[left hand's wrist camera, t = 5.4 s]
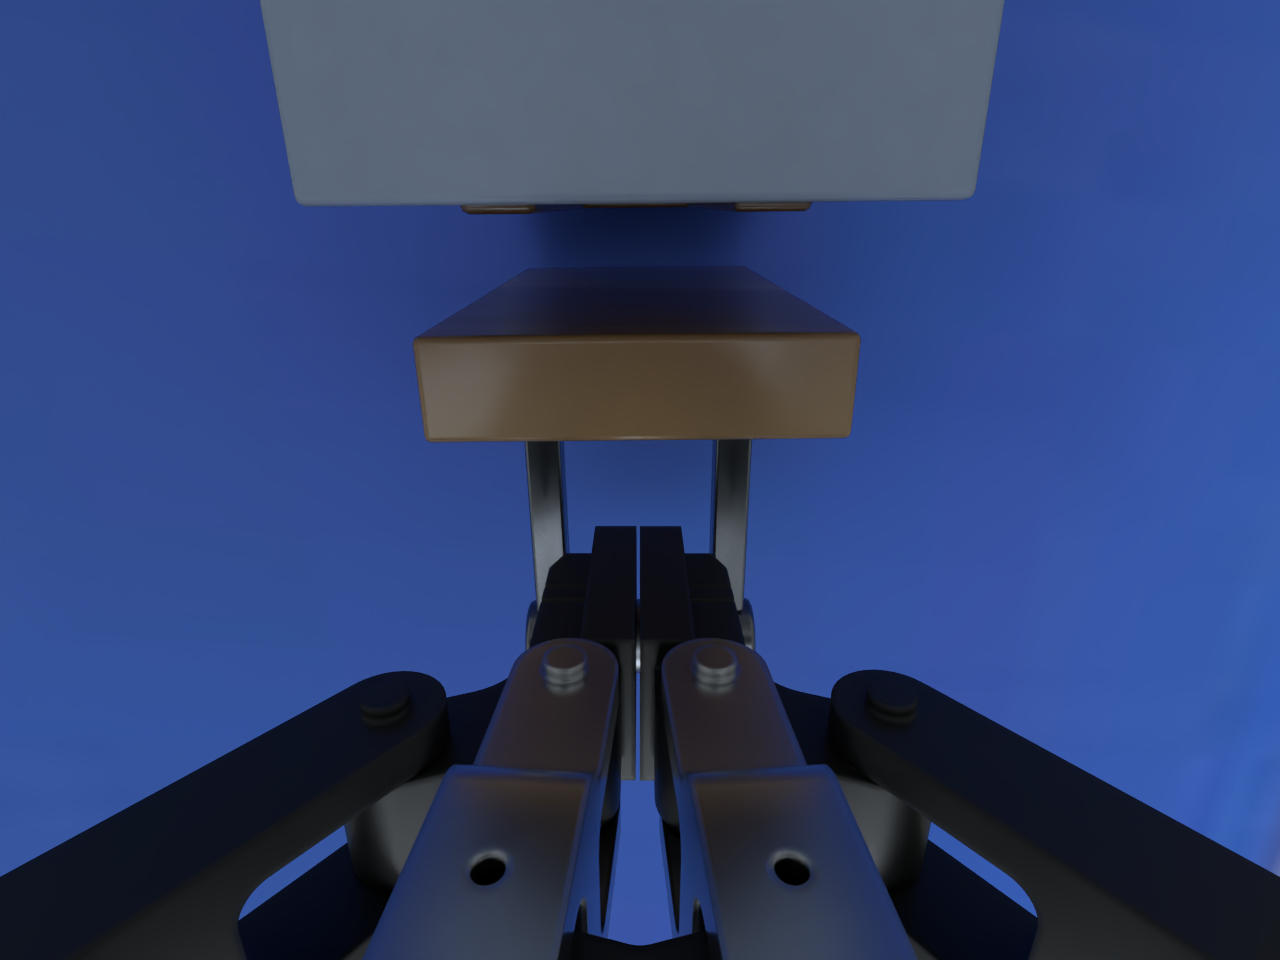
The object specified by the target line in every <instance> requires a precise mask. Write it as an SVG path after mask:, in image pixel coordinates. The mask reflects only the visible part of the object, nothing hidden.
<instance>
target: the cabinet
mask: <svg viewBox="0 0 1280 960" xmlns="http://www.w3.org/2000/svg"><path fill="white" fill-rule="evenodd" d="M260 4H261V9H262V15H263V21H264V26H265V32H266V38H267V43H268V49H269V55H270V60H271V66H272V72H273V77H274V83H275V89H276V94H277V100H278V105H279V111H280V117H281V122H282V128H283V134H284V139H285V145H286V151H287V156H288V162H289V168H290V173H291V179H292V185H293V190H294V196H295V198H296V200H297V202H298V203H299V204H301V205H304V206H306V207H331V206H431V205H532V204H633V203H733V202H834V201H935V200H965V199H967V198H970V197H971V196H972V195H973V193H974V191H975V188H976V181H977V175H978V168H979V162H980V155H981V149H982V143H983V136H984V130H985V123H986V117H987V110H988V104H989V97H990V91H991V84H992V78H993V71H994V65H995V58H996V52H997V45H998V39H999V32H1000V26H1001V19H1002V13H1003V6H1004V0H260Z"/></svg>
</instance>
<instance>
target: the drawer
mask: <svg viewBox="0 0 1280 960" xmlns="http://www.w3.org/2000/svg"><path fill="white" fill-rule="evenodd" d="M811 203H812V202H733V203H633V204H532V205H460V206H461V209H462V211H463V212H465V213H468V214H531V213H541V212H550V211H559V210H569V209H578V208H654V207H694V208H705V209H716V210H727V211H738V212H757V211H805V210H808V209H809V208H810V206H811ZM860 343H861V338H860V335H859V334H858V333H857V332H855V331H853V330H852V329H850V328H848V327H847V326H845V325H843V324H842V323H840V322H838V321H836V320H835V319H833V318H831V317H830V316H828V315H826V314H825V313H823V312H821V311H820V310H818V309H816V308H814V307H813V306H811V305H809V304H808V303H806V302H804V301H803V300H801V299H799V298H798V297H796V296H794V295H792V294H791V293H789V292H787V291H786V290H784V289H782V288H781V287H779V286H777V285H776V284H774V283H772V282H770V281H769V280H767V279H765V278H764V277H762V276H760V275H759V274H757V273H755V272H754V271H752V270H750V269H749V268H747V267H745V266H723V267H623V268H529V269H527V270H525V271H524V272H522V273H520V274H519V275H517V276H515V277H514V278H512V279H510V280H509V281H507V282H506V283H504V284H502V285H501V286H499V287H497V288H496V289H494V290H493V291H491V292H489V293H488V294H486V295H484V296H483V297H481V298H479V299H478V300H476V301H475V302H473V303H471V304H470V305H468V306H466V307H465V308H463V309H461V310H460V311H458V312H457V313H455V314H453V315H452V316H450V317H448V318H447V319H445V320H444V321H442V322H440V323H439V324H437V325H435V326H434V327H432V328H430V329H429V330H427V331H426V332H424V333H422V334H421V335H419V336H417V337H416V338H414V341H413V350H414V358H415V366H416V374H417V381H418V389H419V397H420V405H421V412H422V420H423V428H424V435H425V438H426V440H427V441H430V442H519V441H525V454H526V468H527V482H528V495H529V509H530V522H531V536H532V550H533V563H534V577H535V590H536V600H535V601H532V602H531V604H530V606H529V609H528V614H527V621H526V638H525V646H526V650H528V649H529V646H530V642H531V638H532V634H533V630H534V626H535V623H536V619H537V615H538V611H539V607H540V603H541V602H542V595H543V591H544V588H545V583H546V579H547V575H548V571H549V568H550V567H551V566H552V565H553V564H554V563H555V562H556V561H557V560H558V559H559V558H561V557H562V556H563V555H564V554H565V553H569V534H568V515H567V495H566V476H565V457H564V441H617V440H713V450H712V483H711V516H710V549H709V553H711V554H712V555H714V556H715V557H716V558H717V559H718V560H719V561H720V562H721V563H722V564H723V565H724V566H725V567H726V568H727V570H728V574H729V579H730V583H731V588H732V591H733V595H734V602H735V603H736V607H737V612H738V616H739V620H740V624H741V628H742V632H743V636H744V640H745V645H746V646H747V647H749V648H751V649H752V650H754V651H755V626H754V617H753V611H752V607H751V604H750V602H749V600H748V599H746V598H744V583H745V563H746V544H747V525H748V506H749V487H750V468H751V448H752V439H812V438H845V437H849V435H850V432H851V427H852V418H853V409H854V399H855V390H856V380H857V371H858V362H859V352H860ZM636 673H640V599H637V644H636Z"/></svg>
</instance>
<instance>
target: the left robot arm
mask: <svg viewBox="0 0 1280 960" xmlns="http://www.w3.org/2000/svg"><path fill="white" fill-rule="evenodd" d="M636 644H637V557H636V526H596V527H595V533H594V540H593V547H592V553H565V554H564V555H563V556H562V557H561V558H559V559H558V560H557V561H556V562H555V563H554V564H553V565H552V566H551V567H550V568H549V571H548V575H547V579H546V583H545V588H544V591H543V595H542V602H541V603H540V607H539V611H538V615H537V619H536V623H535V626H534V630H533V634H532V638H531V642H530V646H529V649H528V650H526V651H525V652H524V653H522V654H521V655H520V656H519V657H518V658H517V660H516V661H515V663H514V664H513V666H512V669H511V671H510V674H509V676H508V678H507V679H505V680H504V681H502V682H500V683H498V684H496V685H494V686H491V687H488V688H486V689H482V690H479V691H475V692H471V693H466V694H461V695H457V696H452V697H448V698H446V692H445V690H444V687H443V686H442V685H441V683H440V682H439V681H437V680H436V679H435V678H433V677H431V676H429V675H426V674H423V673H419V672H412V671H399V672H390V673H384V674H380V675H376V676H373V677H370V678H367V679H365V680H362V681H360V682H358V683H356V684H354V685H352V686H350V687H349V688H347V689H345V690H343V691H341V692H339V693H337V694H336V695H334V696H332V697H330V698H328V699H326V700H325V701H323V702H321V703H319V704H317V705H315V706H314V707H312V708H310V709H308V710H306V711H304V712H303V713H301V714H299V715H297V716H295V717H293V718H292V719H290V720H288V721H286V722H284V723H282V724H280V725H279V726H277V727H275V728H273V729H271V730H269V731H268V732H266V733H264V734H262V735H260V736H258V737H257V738H255V739H253V740H251V741H249V742H247V743H246V744H244V745H242V746H240V747H238V748H236V749H235V750H233V751H231V752H229V753H227V754H225V755H224V756H222V757H220V758H218V759H216V760H214V761H212V762H211V763H209V764H207V765H205V766H203V767H201V768H200V769H198V770H196V771H194V772H192V773H190V774H189V775H187V776H185V777H183V778H181V779H179V780H178V781H176V782H174V783H172V784H170V785H168V786H167V787H165V788H163V789H161V790H159V791H157V792H155V793H154V794H152V795H150V796H148V797H146V798H144V799H143V800H141V801H139V802H137V803H135V804H133V805H132V806H130V807H128V808H126V809H124V810H122V811H121V812H119V813H117V814H115V815H113V816H111V817H110V818H108V819H106V820H104V821H102V822H100V823H99V824H97V825H95V826H93V827H91V828H89V829H87V830H86V831H84V832H82V833H80V834H78V835H76V836H75V837H73V838H71V839H69V840H67V841H65V842H64V843H62V844H60V845H58V846H56V847H54V848H53V849H51V850H49V851H47V852H45V853H43V854H42V855H40V856H38V857H36V858H34V859H32V860H30V861H29V862H27V863H25V864H23V865H21V866H19V867H18V868H16V869H14V870H12V871H10V872H8V873H7V874H5V875H3V876H1V877H0V960H1280V877H1279V876H1277V875H1275V874H1273V873H1272V872H1270V871H1268V870H1266V869H1264V868H1262V867H1261V866H1259V865H1257V864H1255V863H1253V862H1251V861H1249V860H1248V859H1246V858H1244V857H1242V856H1240V855H1238V854H1237V853H1235V852H1233V851H1231V850H1229V849H1227V848H1226V847H1224V846H1222V845H1220V844H1218V843H1216V842H1215V841H1213V840H1211V839H1209V838H1207V837H1205V836H1204V835H1202V834H1200V833H1198V832H1196V831H1194V830H1192V829H1191V828H1189V827H1187V826H1185V825H1183V824H1181V823H1180V822H1178V821H1176V820H1174V819H1172V818H1170V817H1169V816H1167V815H1165V814H1163V813H1161V812H1159V811H1158V810H1156V809H1154V808H1152V807H1150V806H1148V805H1147V804H1145V803H1143V802H1141V801H1139V800H1137V799H1136V798H1134V797H1132V796H1130V795H1128V794H1126V793H1124V792H1123V791H1121V790H1119V789H1117V788H1115V787H1113V786H1112V785H1110V784H1108V783H1106V782H1104V781H1102V780H1101V779H1099V778H1097V777H1095V776H1093V775H1091V774H1090V773H1088V772H1086V771H1084V770H1082V769H1080V768H1079V767H1077V766H1075V765H1073V764H1071V763H1069V762H1067V761H1066V760H1064V759H1062V758H1060V757H1058V756H1056V755H1055V754H1053V753H1051V752H1049V751H1047V750H1045V749H1044V748H1042V747H1040V746H1038V745H1036V744H1034V743H1033V742H1031V741H1029V740H1027V739H1025V738H1023V737H1022V736H1020V735H1018V734H1016V733H1014V732H1012V731H1011V730H1009V729H1007V728H1005V727H1003V726H1001V725H999V724H998V723H996V722H994V721H992V720H990V719H988V718H987V717H985V716H983V715H981V714H979V713H977V712H976V711H974V710H972V709H970V708H968V707H966V706H965V705H963V704H961V703H959V702H957V701H955V700H954V699H952V698H950V697H948V696H946V695H944V694H942V693H941V692H939V691H937V690H935V689H933V688H931V687H930V686H928V685H926V684H924V683H922V682H920V681H918V680H916V679H914V678H911V677H909V676H906V675H903V674H899V673H895V672H890V671H884V670H863V671H856V672H853V673H850V674H848V675H846V676H844V677H842V678H841V679H839V680H838V681H837V682H836V684H835V685H834V687H833V689H832V693H831V698H826V697H822V696H817V695H812V694H808V693H803V692H799V691H795V690H792V689H789V688H786V687H783V686H781V685H779V684H777V683H775V682H774V681H773V679H772V676H771V674H770V671H769V669H768V666H767V664H766V663H765V661H764V660H763V658H762V657H761V656H760V655H759V654H758V653H756V652H755V651H754V650H752V649H751V648H749V647H747V646H746V645H745V640H744V636H743V632H742V628H741V624H740V620H739V616H738V612H737V607H736V603H735V602H734V595H733V591H732V588H731V583H730V579H729V574H728V570H727V568H726V567H725V566H724V565H723V564H722V563H721V562H720V561H719V560H718V559H717V558H716V557H715V556H714V555H712V554H711V553H684V546H683V538H682V530H681V526H640V780H654V784H655V803H656V807H657V810H658V812H659V814H660V822H659V827H660V840H661V848H662V856H663V864H664V872H665V880H666V889H667V897H668V905H669V913H670V921H671V930H672V938H673V939H669V940H665V941H662V942H658V943H654V944H650V945H630V944H626V943H622V942H618V941H615V940H611V939H607V938H608V930H609V921H610V913H611V905H612V897H613V889H614V880H615V872H616V864H617V856H618V848H619V840H620V827H621V823H620V790H621V780H635V767H636ZM931 822H933V823H934V824H936V825H937V826H938V827H940V828H941V829H943V830H944V831H946V832H947V833H948V834H950V835H951V836H953V837H954V838H956V839H957V840H959V841H960V842H961V843H963V844H964V845H966V846H967V847H969V848H970V849H971V850H973V851H974V852H976V853H977V854H979V855H980V856H981V857H983V858H984V859H986V860H987V861H989V862H990V863H992V864H993V865H994V866H996V867H997V868H999V869H1000V870H1002V871H1003V872H1004V873H1006V874H1007V875H1009V876H1010V877H1011V878H1012V879H1014V880H1015V881H1016V882H1017V883H1018V884H1019V885H1020V886H1021V887H1022V889H1023V890H1024V891H1025V892H1026V894H1027V895H1028V896H1029V898H1030V900H1031V901H1032V903H1033V905H1034V908H1035V910H1036V913H1037V917H1038V918H1037V917H1035V916H1034V915H1033V914H1031V913H1030V912H1028V911H1027V910H1026V909H1024V908H1023V907H1021V906H1020V905H1019V904H1017V903H1016V902H1015V901H1013V900H1012V899H1010V898H1009V897H1008V896H1006V895H1005V894H1003V893H1002V892H1001V891H999V890H998V889H996V888H995V887H994V886H992V885H991V884H989V883H988V882H987V881H985V880H984V879H983V878H981V877H980V876H978V875H977V874H976V873H974V872H973V871H971V870H970V869H969V868H967V867H966V866H964V865H963V864H962V863H960V862H959V861H958V860H956V859H955V858H953V857H952V856H951V855H949V854H948V853H946V852H945V851H944V850H942V849H941V848H939V847H938V846H937V845H935V844H934V843H932V842H931V841H930V840H928V835H929V830H930V825H931ZM343 825H344V826H345V831H346V836H347V841H348V842H347V843H346V844H345V845H343V846H342V847H341V848H339V849H338V850H336V851H335V852H334V853H332V854H331V855H329V856H328V857H327V858H325V859H324V860H322V861H321V862H320V863H318V864H317V865H316V866H314V867H313V868H311V869H310V870H309V871H307V872H306V873H304V874H303V875H302V876H300V877H299V878H297V879H296V880H295V881H293V882H292V883H290V884H289V885H288V886H286V887H285V888H284V889H282V890H281V891H279V892H278V893H277V894H275V895H274V896H272V897H271V898H270V899H268V900H267V901H265V902H264V903H263V904H261V905H260V906H259V907H257V908H256V909H254V910H253V911H252V912H250V913H249V914H247V915H246V916H245V917H243V918H242V919H240V920H239V921H238V919H239V915H240V912H241V910H242V908H243V906H244V904H245V902H246V901H247V899H248V898H249V896H250V895H251V894H252V892H253V891H254V890H255V889H256V888H257V887H258V886H259V885H260V884H261V883H262V882H263V881H265V880H266V879H267V878H268V877H270V876H271V875H273V874H274V873H276V872H277V871H278V870H280V869H281V868H283V867H284V866H286V865H287V864H288V863H290V862H291V861H293V860H294V859H296V858H297V857H298V856H300V855H301V854H303V853H304V852H306V851H307V850H309V849H310V848H311V847H313V846H314V845H316V844H317V843H319V842H320V841H321V840H323V839H324V838H326V837H327V836H329V835H330V834H332V833H333V832H334V831H336V830H337V829H339V828H340V827H342V826H343Z"/></svg>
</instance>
